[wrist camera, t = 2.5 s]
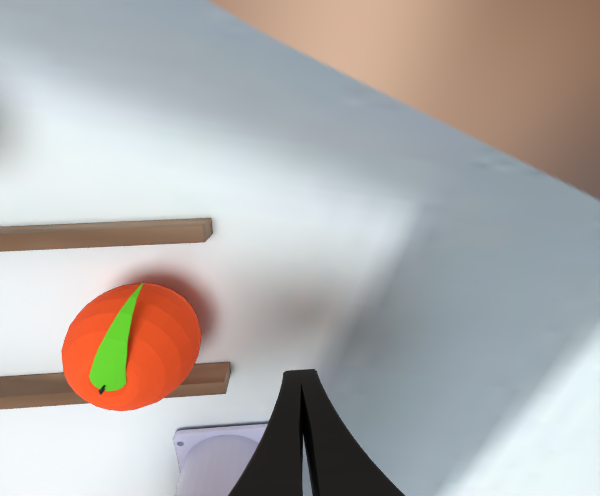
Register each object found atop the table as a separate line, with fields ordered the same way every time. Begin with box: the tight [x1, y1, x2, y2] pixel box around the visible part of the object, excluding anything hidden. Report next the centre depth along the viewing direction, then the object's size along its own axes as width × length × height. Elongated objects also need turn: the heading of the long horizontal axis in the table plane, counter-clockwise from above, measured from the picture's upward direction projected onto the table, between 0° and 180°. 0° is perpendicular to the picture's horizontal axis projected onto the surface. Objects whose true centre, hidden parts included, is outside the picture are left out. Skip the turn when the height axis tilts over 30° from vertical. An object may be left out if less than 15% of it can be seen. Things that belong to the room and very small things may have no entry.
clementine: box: [62, 282, 201, 411], centre depth 17 cm, size 8×7×7 cm
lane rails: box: [0, 218, 231, 409], centre depth 19 cm, size 12×22×2 cm, turn 92°
